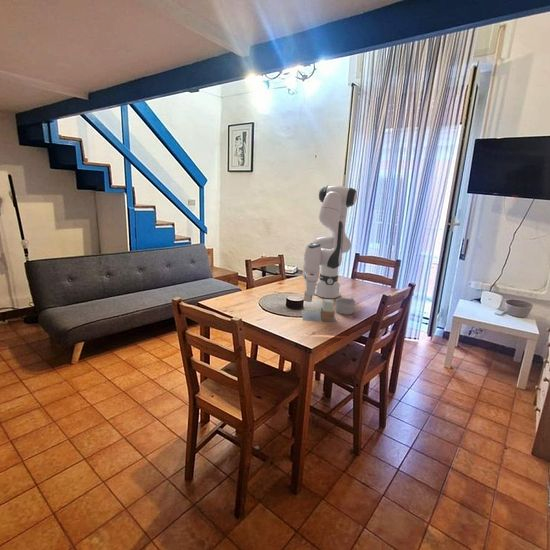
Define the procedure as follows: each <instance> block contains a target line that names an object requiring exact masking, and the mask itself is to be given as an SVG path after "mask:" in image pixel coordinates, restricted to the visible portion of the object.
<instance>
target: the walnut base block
mask: <svg viewBox="0 0 550 550" xmlns="http://www.w3.org/2000/svg"><path fill="white" fill-rule="evenodd" d="M320 312H321V316H320V317H321V319H322V321H334V316H335V311H334V310H333V312H324V311H323V308H322V307H320Z"/></svg>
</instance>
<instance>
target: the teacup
mask: <svg viewBox="0 0 550 550" xmlns="http://www.w3.org/2000/svg"><path fill="white" fill-rule="evenodd" d="M355 306H356V300H355V299H354V298H347V297H341V298H336V299H335V311H336V312H337V313H338V314H340V315H347V316H349V315H352V314H353V313H354V312H355V309H356V308H355Z"/></svg>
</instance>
